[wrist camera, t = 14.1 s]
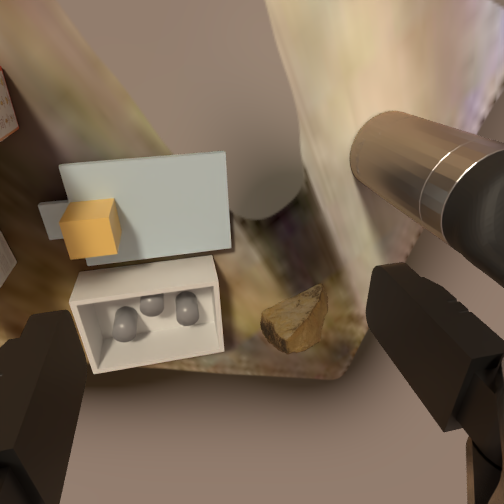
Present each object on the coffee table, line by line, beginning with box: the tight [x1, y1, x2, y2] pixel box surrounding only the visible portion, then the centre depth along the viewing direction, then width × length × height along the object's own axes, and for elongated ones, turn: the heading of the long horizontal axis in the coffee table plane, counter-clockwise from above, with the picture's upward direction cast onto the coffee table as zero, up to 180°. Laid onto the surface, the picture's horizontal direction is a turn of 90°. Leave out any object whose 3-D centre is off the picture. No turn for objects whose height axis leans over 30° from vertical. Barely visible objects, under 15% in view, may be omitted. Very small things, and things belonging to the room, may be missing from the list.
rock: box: [260, 284, 328, 354], centre depth 52 cm, size 11×9×10 cm
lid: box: [38, 151, 231, 266], centre depth 39 cm, size 20×12×7 cm, turn 91°
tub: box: [69, 255, 224, 374], centre depth 46 cm, size 16×11×6 cm
